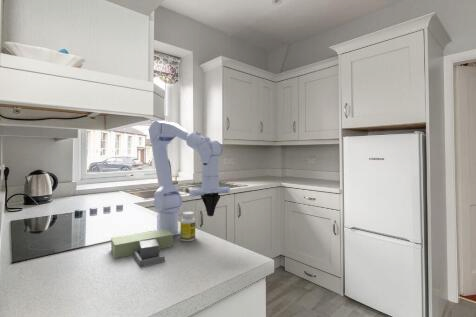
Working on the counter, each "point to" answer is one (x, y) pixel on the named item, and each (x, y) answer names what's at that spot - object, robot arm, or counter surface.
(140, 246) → the chute block
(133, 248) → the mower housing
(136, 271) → the counter surface
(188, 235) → the supplement bottle
